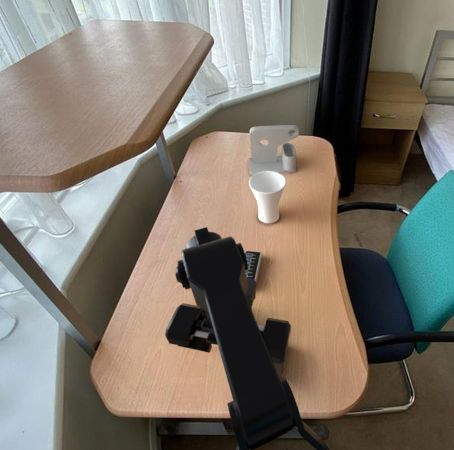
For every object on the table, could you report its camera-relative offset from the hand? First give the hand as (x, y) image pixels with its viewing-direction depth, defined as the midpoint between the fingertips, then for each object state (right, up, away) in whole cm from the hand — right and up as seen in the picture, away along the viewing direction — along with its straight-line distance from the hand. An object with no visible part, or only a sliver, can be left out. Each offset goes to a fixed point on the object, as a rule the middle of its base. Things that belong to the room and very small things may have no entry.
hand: (235, 354), depth 57 cm
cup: (+1, +25, +44) cm, 51 cm away
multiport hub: (-2, +10, +29) cm, 31 cm away
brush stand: (+4, -6, +12) cm, 14 cm away
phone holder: (0, +45, +64) cm, 78 cm away
